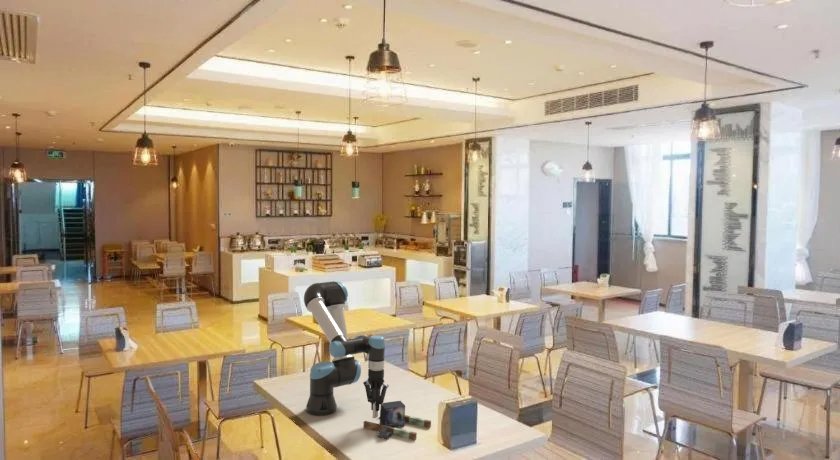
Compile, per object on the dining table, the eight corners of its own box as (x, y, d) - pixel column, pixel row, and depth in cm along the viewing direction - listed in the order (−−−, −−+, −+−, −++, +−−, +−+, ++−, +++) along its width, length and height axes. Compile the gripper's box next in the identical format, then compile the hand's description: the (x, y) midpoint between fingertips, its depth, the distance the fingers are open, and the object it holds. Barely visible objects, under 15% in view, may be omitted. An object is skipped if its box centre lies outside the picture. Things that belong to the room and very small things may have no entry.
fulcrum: (377, 437, 262) (377, 428, 261) (382, 434, 265) (382, 425, 265) (387, 439, 260) (387, 431, 259) (391, 436, 263) (391, 427, 263)
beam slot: (363, 428, 271) (363, 421, 271) (381, 415, 287) (381, 409, 286) (414, 440, 260) (415, 433, 259) (430, 426, 275) (431, 420, 275)
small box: (384, 429, 270) (384, 408, 269) (379, 424, 276) (379, 402, 275) (404, 426, 274) (405, 405, 273) (399, 420, 280) (400, 400, 279)
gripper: (360, 368, 276) (359, 417, 277) (383, 372, 270) (382, 422, 271) (368, 364, 283) (367, 412, 284) (391, 368, 277) (390, 417, 278)
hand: (375, 417), depth 278 cm, fingers closed
